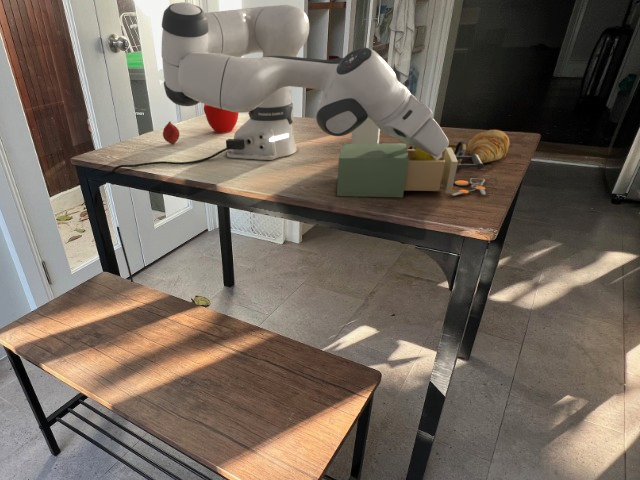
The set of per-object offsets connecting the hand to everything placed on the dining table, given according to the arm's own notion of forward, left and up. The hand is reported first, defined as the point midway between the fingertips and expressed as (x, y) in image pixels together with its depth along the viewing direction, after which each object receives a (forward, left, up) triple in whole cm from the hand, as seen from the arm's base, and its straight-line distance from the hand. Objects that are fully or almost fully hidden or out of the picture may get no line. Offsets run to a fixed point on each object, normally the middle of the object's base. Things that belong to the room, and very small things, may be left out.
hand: (429, 153), depth 100 cm
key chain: (+10, 0, -8) cm, 13 cm away
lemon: (-1, 0, -5) cm, 5 cm away
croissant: (+18, +26, -9) cm, 33 cm away
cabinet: (-13, 0, -8) cm, 15 cm away
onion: (-82, +40, -9) cm, 91 cm away
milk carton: (-15, +23, -9) cm, 28 cm away
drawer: (+1, 0, -7) cm, 8 cm away
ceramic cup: (-70, +60, -9) cm, 92 cm away
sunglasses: (+3, +19, -9) cm, 21 cm away
